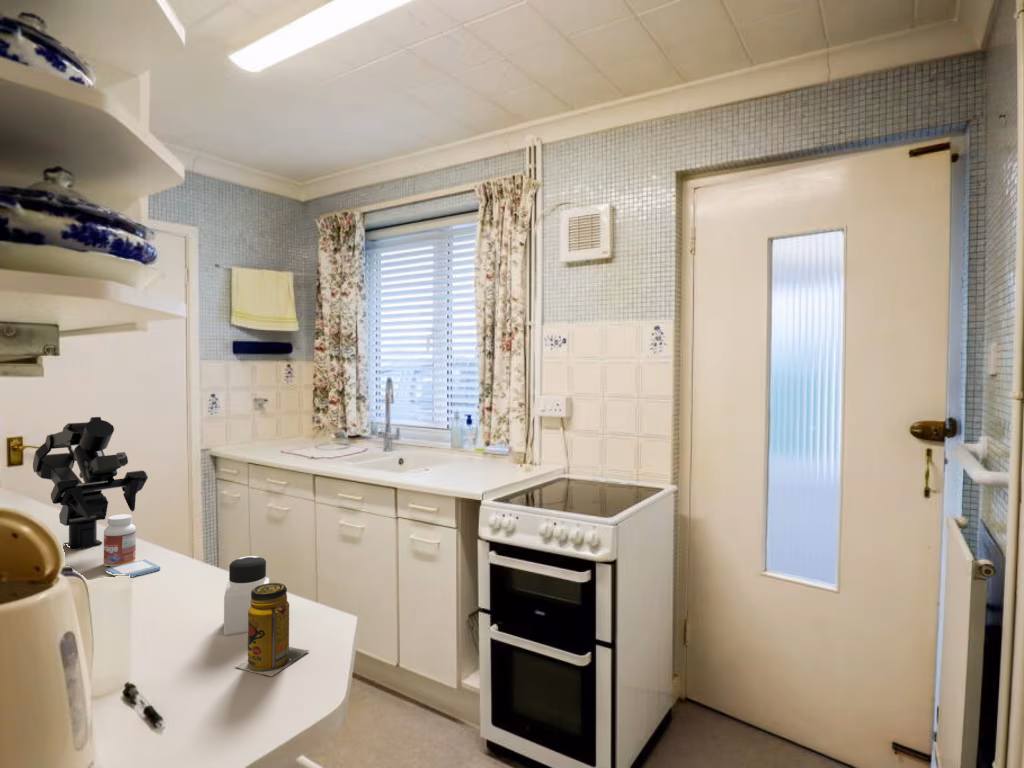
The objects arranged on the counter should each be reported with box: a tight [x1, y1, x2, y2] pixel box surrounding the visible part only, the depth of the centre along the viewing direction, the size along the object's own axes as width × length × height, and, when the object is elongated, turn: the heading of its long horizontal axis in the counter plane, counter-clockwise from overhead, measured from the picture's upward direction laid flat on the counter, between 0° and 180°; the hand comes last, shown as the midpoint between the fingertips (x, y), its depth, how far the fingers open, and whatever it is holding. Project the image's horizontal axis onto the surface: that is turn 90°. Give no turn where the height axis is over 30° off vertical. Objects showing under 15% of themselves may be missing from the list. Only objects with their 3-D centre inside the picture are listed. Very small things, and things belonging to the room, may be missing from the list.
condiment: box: [234, 582, 310, 677], centre depth 90 cm, size 7×8×12 cm
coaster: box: [105, 559, 161, 578], centre depth 127 cm, size 8×8×1 cm
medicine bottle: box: [223, 555, 270, 636], centre depth 102 cm, size 7×7×12 cm
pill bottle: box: [103, 513, 137, 568], centre depth 132 cm, size 6×6×11 cm
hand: (111, 514), depth 134 cm, fingers open, 9 cm apart
